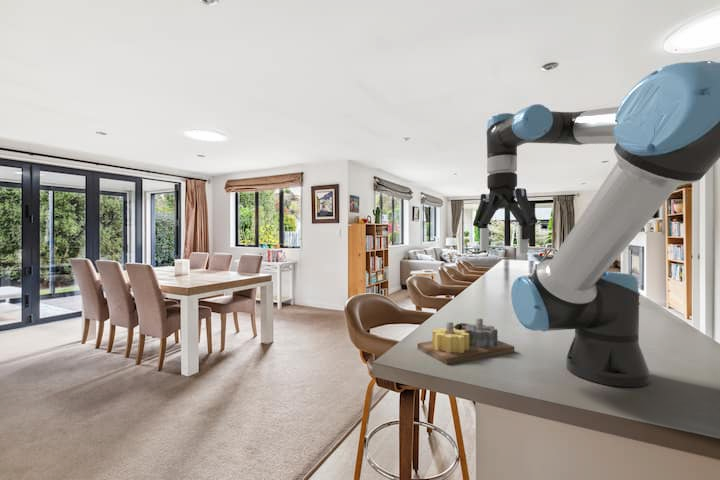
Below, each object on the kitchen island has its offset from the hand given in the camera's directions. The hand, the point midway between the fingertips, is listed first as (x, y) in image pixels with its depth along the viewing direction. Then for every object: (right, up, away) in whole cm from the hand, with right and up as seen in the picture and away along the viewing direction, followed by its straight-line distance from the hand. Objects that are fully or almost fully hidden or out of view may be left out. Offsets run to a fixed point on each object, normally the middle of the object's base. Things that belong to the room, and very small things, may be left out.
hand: (502, 251), depth 94 cm
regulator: (-4, -27, +14) cm, 31 cm away
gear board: (-10, -27, 0) cm, 29 cm away
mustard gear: (-15, -25, -3) cm, 29 cm away
